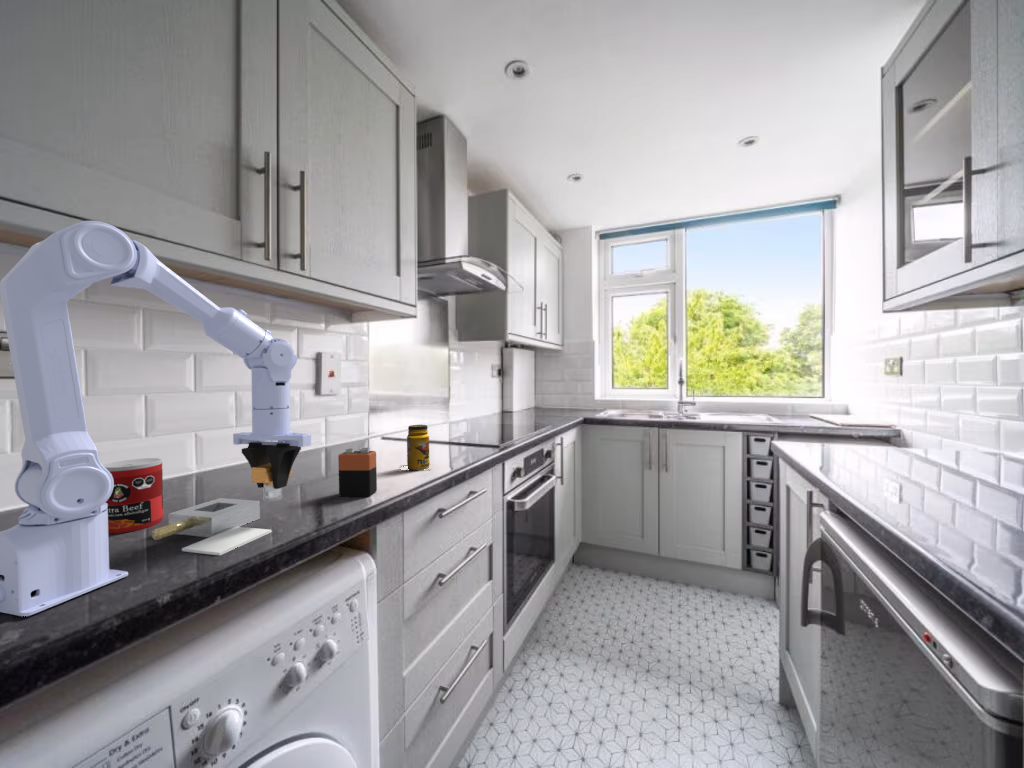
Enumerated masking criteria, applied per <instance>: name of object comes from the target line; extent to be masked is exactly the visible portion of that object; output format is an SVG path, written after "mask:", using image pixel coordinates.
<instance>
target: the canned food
mask: <svg viewBox="0 0 1024 768" xmlns="http://www.w3.org/2000/svg"><path fill="white" fill-rule="evenodd" d="M102 465H103V466H104V467H105V468H106V469H107V470H108V471H109V472H110V473H111V475H112V477H113V480H114V488H113V491H112V494H111V496H110V497H109V499H108V500H107V501H106V502H105V503H107V504H108V507H107V509H108V534H124V533H130V532H135V531H140V530H145V529H147V528H150V527H153V526H155V525H158V524H159V523H161V521H162V520H163V517H164V489H163V488H164V486H163V484H164V483H163V481H164V480H163V475H164V474H163V461H162V458H158V457H157V458H156V457H153V458H152V457H151V458H149V457H147V458H136V459H135V458H134V459H128V460H127V459H126V460H121V461H114V462H108V463H106V464H102Z"/></svg>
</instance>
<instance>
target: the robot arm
mask: <svg viewBox="0 0 1024 768" xmlns="http://www.w3.org/2000/svg"><path fill="white" fill-rule="evenodd" d="M110 278H112V279H111V280H110V281H111V282H110V286H112V287H121V288H122V287H123V288H131V289H141V290H145V291H147V292H148V293H150V294H152V295H154V296H155V297H157V298H158V299H160V300H162V301H163V302H166V303H167V304H168V305H171V306H172V307H174V308H176V309H177V310H179V311H181V312H182V313H184V314H186V315H188V316H189V317H191V318H193V319H194V320H195V321H198V322H199V323H201V324H202V326H203V330H204V332H205V335H206V336H207V338H210V339H211V340H213V341H214V342H216V343H217V344H219V345H221V346H222V347H224V348H226V349H227V350H228V351H230V352H232V353H234V354H235V355H236V356H238V357H239V358H241V359H242V360H243V363H244V364H245V366H246V367H247V368H248V369H249V370H250V371H251V431H250V432H248V431H247V432H245V431H244V432H243V431H242V432H236V433H233V435H232V436H233V437H232V438H233V439H232V441H233V445H235V446H236V445H238V446H239V445H247V447H243V448H241V454H242V455H243V456H244V457H245V459H246V461H247V462H248V464H249V465H250V468H251V469H252V467H256V466H260V465H264V464H268V463H271V467H272V477H273V486H274V489H279V488H282V489H283V488H284V487H287V484H288V481H289V477H290V476H289V474H290V471H291V468H292V469H293V465H294V462H295V460H296V458H297V457H298V455H299V453H300V451H301V450H302V448H304V447H309V446H312V434H311V433H301V432H300V433H299V432H294V431H293V430H291V378H292V370H293V369H294V367H295V366H296V365H297V361H298V355H297V354H295V351H294V349H293V346H292V345H291V344H290V343H289V342H288V341H286V340H285V339H283V338H274V337H273V336H272V332H271V331H270V330H269V329H263V328H262V327H260V326H259V325H257V324H256V323H255V322H253V321H252V320H250V319H249V318H248V317H247V316H248V313H247V312H246V311H244V310H243V309H235V308H234V307H230V306H229V307H219V306H218V305H217V304H215V303H214V302H213V301H211V299H209V298H208V297H206V296H205V295H204V294H202V292H200V291H198V290H197V289H196V288H195V287H194V286H192V285H191V284H190V283H188V281H186V280H184V279H183V278H182V277H181V276H179V275H178V274H177V273H176V272H174V271H173V270H171V268H169V267H168V266H166V265H165V264H164V263H163V262H161V261H160V260H159V259H158V258H157V257H156V256H155V255H154V254H153V253H152V251H150V249H149V248H148V247H146V246H145V245H144V244H142V243H140V242H139V241H137V240H135V239H131V238H130V237H129V236H128V235H127V233H125V232H124V231H123V230H121V229H119V228H117V227H116V226H114V225H112V224H109V223H107V222H103V221H100V220H99V221H98V220H84V221H82V220H81V221H79V222H76V223H73V224H72V225H69V226H67V227H64V228H61V229H60V230H57V231H55V232H53V233H51V235H49V236H48V237H46V238H45V239H43V240H42V241H40V242H37V243H34V244H33V245H31V246H30V247H29V249H28V251H26V253H25V254H24V255H23V257H22V258H20V260H19V261H18V262H16V264H15V265H14V266H13V267H12V268H11V269H10V270H9V271H8V272H7V273H6V275H4V277H3V278H2V279H1V280H0V303H1V309H2V313H3V314H2V315H3V319H4V324H5V325H4V326H5V331H6V336H7V341H8V342H7V343H8V348H9V354H10V360H11V363H12V364H11V365H12V370H13V376H14V383H15V387H16V393H17V400H18V404H19V409H20V415H21V416H20V417H21V422H22V427H23V433H24V437H25V438H24V443H23V447H22V449H21V459H22V461H21V463H22V466H21V469H20V471H19V473H18V475H17V477H16V479H15V482H14V492H15V494H16V496H17V498H18V499H19V500H20V501H22V502H23V503H24V504H26V505H28V506H27V507H26V508H25V509H24V510H23V512H22V513H21V515H19V516H18V518H17V519H18V524H15V525H14V526H12V527H10V528H7V529H5V530H1V531H0V613H4V614H9V615H14V616H18V617H23V616H24V618H25V616H26V617H30V616H32V615H35V614H37V613H40V612H42V611H45V610H47V609H49V608H52V607H55V606H57V605H60V604H62V603H64V602H68V601H70V600H71V599H74V598H76V597H79V596H82V595H83V594H86V593H89V592H92V591H93V590H96V589H98V588H101V587H104V586H106V585H108V584H111V583H114V582H116V581H118V580H121V579H123V578H125V577H128V576H129V572H128V571H126V570H119V569H111V568H110V550H109V549H110V548H109V545H110V544H109V533H108V509H107V507H108V504H107V503H105V502H106V501H107V500H108V499H109V497H110V496H111V494H112V491H113V488H114V480H113V477H112V475H111V473H110V472H109V471H108V470H107V469H106V468H105V467H104V466H103V465H104V464H102V462H101V460H100V457H99V451H98V448H97V447H96V445H95V442H94V441H93V440H92V437H91V436H90V434H89V432H88V426H87V420H86V419H87V418H86V414H85V407H84V401H83V395H82V389H81V383H80V376H79V370H78V363H77V358H76V351H75V347H74V346H75V345H74V339H73V332H72V327H71V320H70V315H69V314H70V313H69V308H68V302H69V301H70V300H72V299H73V298H75V297H76V296H78V294H80V293H81V292H83V291H85V290H86V289H88V288H89V287H91V286H92V285H93V284H95V283H99V282H101V281H103V280H106V279H110ZM256 485H257V488H259V489H263V483H256Z"/></svg>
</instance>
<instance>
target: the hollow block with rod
mask: <svg viewBox="0 0 1024 768" xmlns="http://www.w3.org/2000/svg"><path fill="white" fill-rule="evenodd" d="M260 504H261V501H260V500H252V499H240V498H239V499H238V498H225V497H219V498H216V499H212V500H210V501H206V502H203V503H200V504H197V505H193V506H192V505H191V506H188V507H186V508H183V509H179V510H177V511H173V512H169V513H168V515H167V516H168V518H167V519H168V524H166V525H164V526H161V527H158V528H155V529H153V530H152V532H151V537H152V539H153V540H155V541H158V540H161V539H164V538H166V537H170V536H173V535H181V536H182V535H184V536H191V537H200V538H201V537H202V538H209V537H212V536H214V535H217V534H220V533H222V532H225V531H227V530H230V529H232V528H235V527H244V525H247V523H248V524H249V523H253V522H255V521H257V520H261V505H260ZM252 521H253V522H252Z"/></svg>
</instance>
